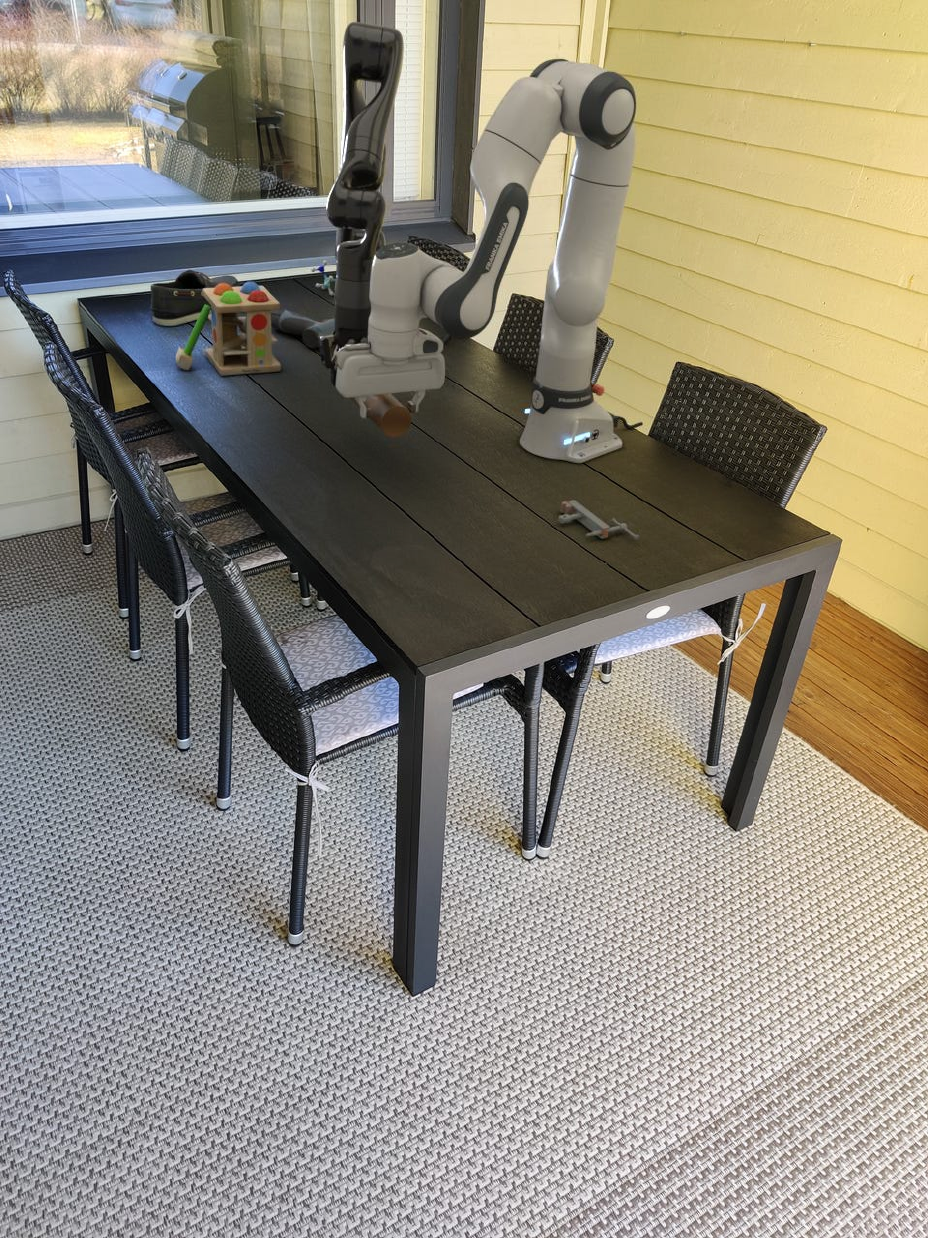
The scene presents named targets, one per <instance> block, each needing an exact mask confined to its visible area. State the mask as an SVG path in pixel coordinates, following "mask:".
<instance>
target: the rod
mask: <svg viewBox="0 0 928 1238" xmlns="http://www.w3.org/2000/svg"><path fill="white" fill-rule="evenodd" d="M349 399H350V400H351V401H352V402H353V403H354V404H355V405H356V406H357V408H359V409H360V406H359V404H358V403H357V401H356V399H355V397H351V398H349ZM363 403H364V404H365V406H368V407H369V408H370V409H371V417H370V418H369V420H370V421H371V422H373V424H375V426H377V428H378V429H380V431H381V432H382V433H383V434H384V435H386V437H387V436H388V437H389V438H398V437H401V436H403V435H404V434H406V433H407V432H408V430H410V427H411V424H412V413H410V412H409V410H408V409H407V407H406V406H405V405H404V404H403V403H402V402H400V401H399V400H398V399H397V398H396V396H394V395H393V393H390V394H380V395H371V396H366V401H363Z"/></svg>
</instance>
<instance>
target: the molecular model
mask: <svg viewBox="0 0 928 1238" xmlns="http://www.w3.org/2000/svg"><path fill="white" fill-rule="evenodd" d="M327 265H328V261H327V260H323V261H322V265H319V266H318V267H316V268H315V267H311V268H310V271H311V272H312V273H314V272H317V271H318V272H319V273H321V274H322V275H323V277H324V283H318V282H317V283H315V287H316V288H317V289H319V288H320V287H321V289H322V290H323V291H324V290H326V289H327V290H328V293H329V296H331V297H332V296H333V297H334V294H335V292H333V291H332V289H331V283H333V282H336V278H334V276H333V275H329V277H327V275H326V273H325V266H327Z"/></svg>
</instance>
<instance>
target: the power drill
mask: <svg viewBox="0 0 928 1238" xmlns="http://www.w3.org/2000/svg"><path fill="white" fill-rule="evenodd" d="M271 328H274V329H276V330H278V331H281V332H284V333H288V334H290V335H296V336H300V337H302V341H303V343H304V344H305V346H306V347H308V348H309V349H316V348H320V347H319V339H318V337H319V335H321V334H322V335H324V336H327V335H332V334H333V332H334V329H335V318H331V319H324V320H322V321H320V322H319V321H316V320H314V319H312V318H309V317H306V316H304V315H302V314H300V313H297V312H293V311H291V310H288V309H283V308H280V310H271Z"/></svg>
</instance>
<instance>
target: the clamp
mask: <svg viewBox="0 0 928 1238" xmlns="http://www.w3.org/2000/svg"><path fill="white" fill-rule="evenodd" d="M559 513H561V514H562V515H559V516H558V523H560V524H563V525H564V524H568V523H571V522H572V521H575V520H576V521H578V522H579V523H580V524H582V525H583V526H584V527H585V528H587V529H588V530H590V532H588V533H586V534H585V537H586V538H587V537H595V536H597V537H598V538H599V539H602V540H603V539H607V538H609V533H613V532H617V531H618V532H626V533H627V534H628V535H630V536H631V537H632V538H633V539H634V540H635V541H638V540H639V539H640V535H639V534H635V533H634V532H632V531H631V530H630V529H628V525H627V523H625V522H624V523H620V522H618V521H617V519H616V518H612V519H611V520H610V522H611V524H614V525H616V526H613V527H611V526H609V525H608V524H607V523H606V522H604V521H603V520H602V519H601V518H599V517H598V516H597V515H595V514H594V513H592V512H591V511H590V510H589V509H588V508H586V507H585V506H583V505H582V504H581V503H580V502H578V501H577V500H573V499H572V500H569V501H567V500H565V501H562V502H561V503H560V510H559Z"/></svg>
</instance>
